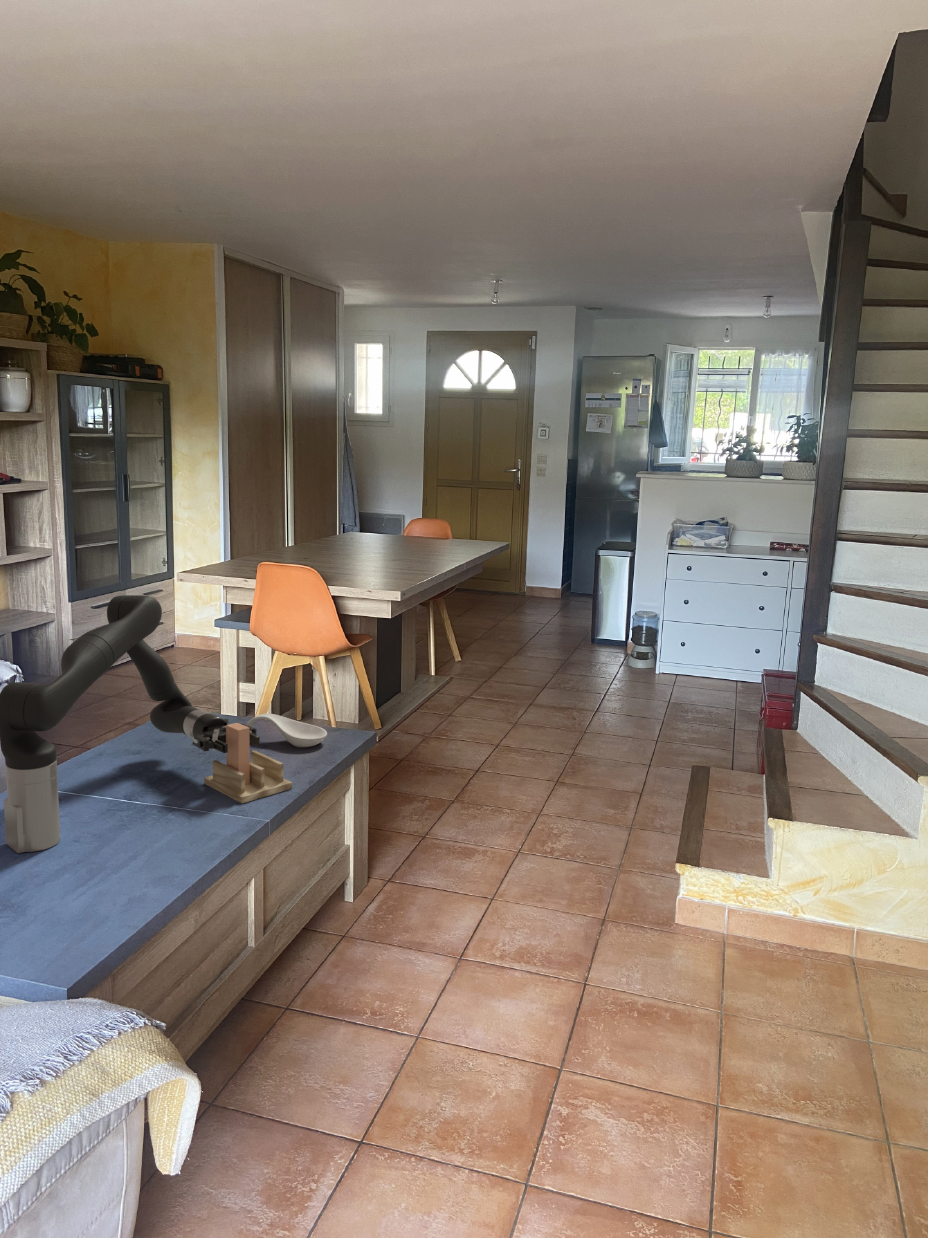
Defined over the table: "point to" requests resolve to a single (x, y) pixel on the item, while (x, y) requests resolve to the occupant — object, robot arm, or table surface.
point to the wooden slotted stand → (262, 779)
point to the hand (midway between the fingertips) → (242, 745)
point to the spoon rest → (294, 730)
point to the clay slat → (238, 749)
